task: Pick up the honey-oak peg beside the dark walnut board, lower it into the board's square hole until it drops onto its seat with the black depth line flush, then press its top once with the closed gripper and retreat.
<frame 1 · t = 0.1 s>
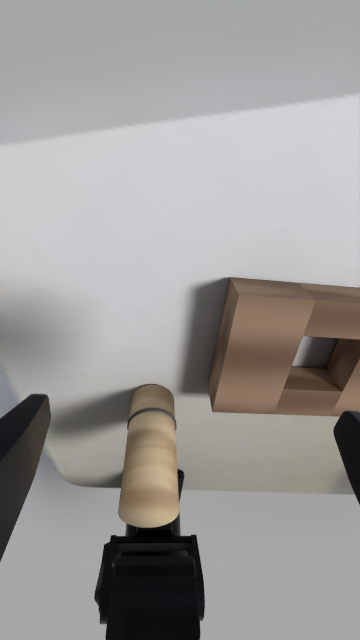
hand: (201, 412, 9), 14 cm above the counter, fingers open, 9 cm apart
oak peg: (152, 400, 28), on the counter
walnut board: (307, 343, 26), on the counter
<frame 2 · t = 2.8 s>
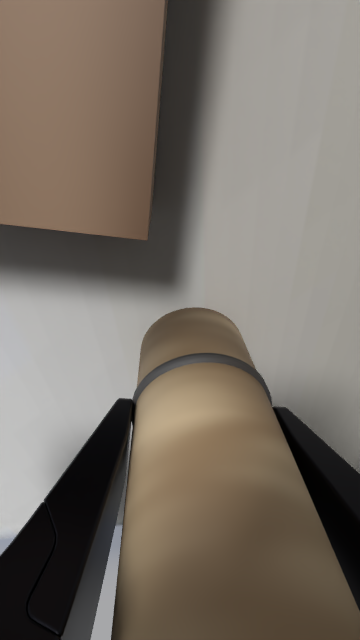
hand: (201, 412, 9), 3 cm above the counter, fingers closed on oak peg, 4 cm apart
oak peg: (192, 352, 12), on the counter, touching gripper
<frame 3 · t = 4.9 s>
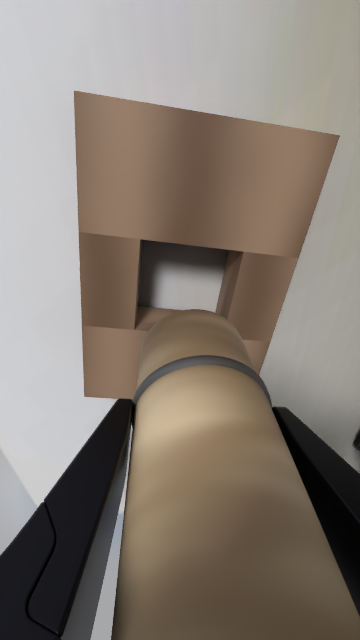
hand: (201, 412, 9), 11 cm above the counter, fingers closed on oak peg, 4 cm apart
oak peg: (192, 354, 12), point 8 cm above the counter, touching gripper
walnut board: (182, 273, 18), on the counter
when the fingers open (4 cm above the counter, at t = 7.4 s): oak peg drops 1 cm, resting in walnut board.
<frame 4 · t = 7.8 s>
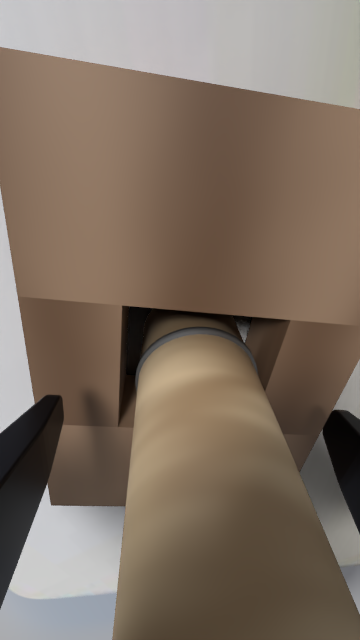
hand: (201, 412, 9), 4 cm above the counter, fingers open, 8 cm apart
oak peg: (189, 333, 13), resting in walnut board
walnut board: (189, 332, 13), on the counter
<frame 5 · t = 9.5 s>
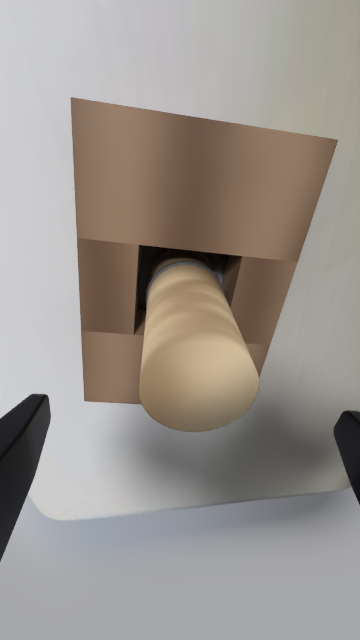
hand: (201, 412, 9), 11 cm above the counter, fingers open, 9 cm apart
oak peg: (181, 278, 19), resting in walnut board
walnut board: (181, 277, 18), on the counter
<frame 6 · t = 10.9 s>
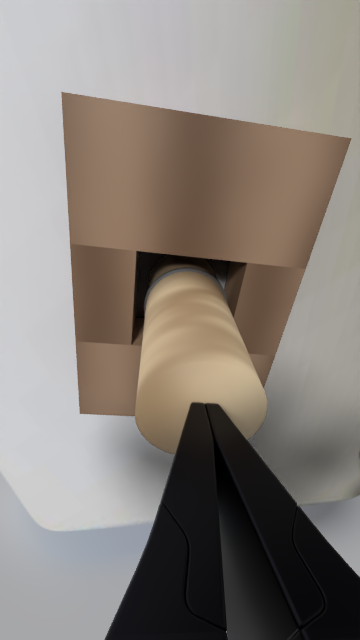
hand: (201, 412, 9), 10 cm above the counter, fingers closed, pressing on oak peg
oak peg: (182, 284, 18), resting in walnut board, touching gripper
walnut board: (181, 283, 18), on the counter
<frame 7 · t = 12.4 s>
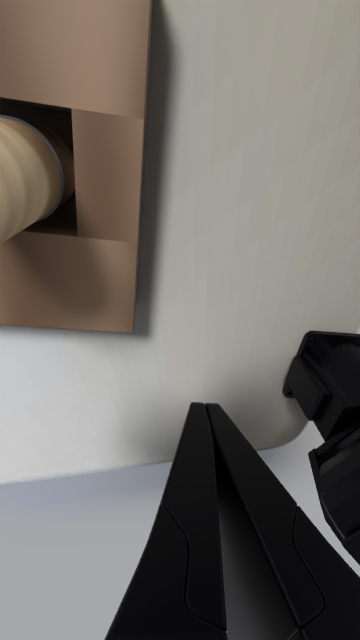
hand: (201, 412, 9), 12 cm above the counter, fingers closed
oak peg: (37, 168, 16), resting in walnut board
walnut board: (36, 166, 15), on the counter
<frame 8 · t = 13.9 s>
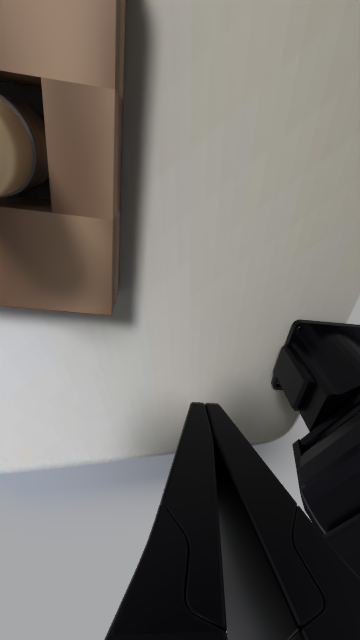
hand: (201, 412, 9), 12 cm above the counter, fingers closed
oak peg: (15, 146, 15), resting in walnut board
walnut board: (14, 144, 15), on the counter
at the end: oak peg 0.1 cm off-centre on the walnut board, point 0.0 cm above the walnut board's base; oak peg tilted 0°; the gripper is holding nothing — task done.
